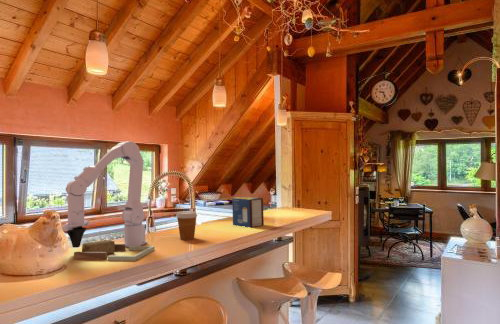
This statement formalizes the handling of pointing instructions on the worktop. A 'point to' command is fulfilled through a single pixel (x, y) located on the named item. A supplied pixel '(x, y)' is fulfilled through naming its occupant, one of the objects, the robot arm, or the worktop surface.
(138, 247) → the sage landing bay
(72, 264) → the worktop surface
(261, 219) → the protein box
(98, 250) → the stone block
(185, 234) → the disposable coffee cup
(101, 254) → the walnut chute
